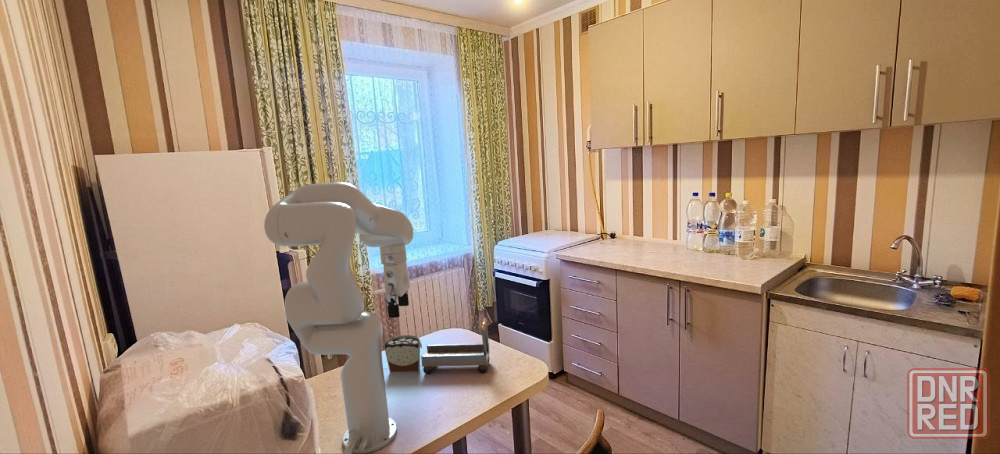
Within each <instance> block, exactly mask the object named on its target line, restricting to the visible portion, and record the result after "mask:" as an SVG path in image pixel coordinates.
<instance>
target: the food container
mask: <svg viewBox="0 0 1000 454" xmlns="http://www.w3.org/2000/svg"><path fill="white" fill-rule="evenodd" d="M421 349H423V344H422V341H421V340H420V338H419V336H417V335H412V334H403V335H397V336H393V337H390V338H389V339H386V340H385V341H384V342H383V344H382V350H384V352H385V355H386V362H387V366H388V371H389V373H390V374H392V373H393V374H394V373H395V374H400V373H401V374H405V373H406V374H407V373H411V374H413V373H415V374H416V373H420V370H421V369H420V368H421V363H420V362H421V355H420V354H421Z"/></svg>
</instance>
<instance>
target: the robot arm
mask: <svg viewBox="0 0 1000 454" xmlns="http://www.w3.org/2000/svg"><path fill="white" fill-rule="evenodd" d="M263 224H264V225H263V226H264V227H263V228H264V233H265V235H266V236H267V238H268V240H269V241H270V242H271V243H273V244H275V245H276V246H280V247H301V246H303V247H304V246H319V249H318V250H317V252H316V253H315V255H314V256H313V257H312V258H311V260H310V262H309V264H308V266H307V267H306V271H305V277H306V278H305V279H306V281H301V282H297V283H295V284H294V285H292V286H291V287H290V288H289V289H288V290H287V293H286V295H285V297H284V314H285V317H286V320H287V322H288V324H289V325H290V327H291V329H292V330H293V332H294V333H295V335H296V337H297V338H298V341H300V343H301V345H302V346H303V347H304V349H305V350H306V351H307V352H309V353H310V354H312V355H317V356H323V355H324V356H325V355H347V356H348V357H349V358H348V359H347V360H346V362H345V363H344V364H343V366H342V368H341V372H340V381H341V386H342V395H343V401H344V409H345V416H346V423H347V429H346V430H345V432H344V434H343V436H342V445H343V447H344V451H343V454H367V453H368V454H369V453H372V452H376V451H378V450H381V449H382V448H383V447H385V446H388V445H389V444H390V443H391V442H392V441H393V440H394V438H395V436H396V435H397V432H398V430H397V429H398V428H397V427H398V426H397V424H396V422H395V420H394V419H393V418H391V417H390V416H389V415H390V414H389V407H388V399H387V391H386V384H385V383H386V382H385V375H384V373H385V372H384V365H383V364H384V363H383V354H382V353H383V351H382V350H383V331H384V330H383V329H384V327H383V322H382V319H381V317H380V316H379V315H378V314H376V313H374V312H371V311H364V309H365V300H364V297H363V294H362V291H361V289H360V287H359V284H358V282H357V280H356V278H355V275H354V272H353V271H352V267H351V256H352V251H353V247H354V241H355V236H356V234H359V237H360V240H361V243H362V244H364V246H366V247H369V248H379V252H380V253H379V254H380V264H381V265H383V284H384V293H385V294H384V295H385V296H384V297H385V300H386V301H385V302H386V305H387V314H388V319H389V318H390V319H394V318H397V319H398V318H400V307H408V306H409V304H410V301H409V293H408V292H409V289H410V287H411V285H410V284H411V283H410V278H409V277H410V276H409V270H408V265H407V249H406V246H407V245H409V244H410V243H412V241H413V238H414V228H413V224H412V222H411V221H410V219H409V218H408V217H407V216H406V214H404V213H403V212H402V211H400V210H397V209H393V208H391V207H389V206H384V205H381V204H377V203H373V201H371V200H370V198H368V197H367V196H366V195H365V194H364V193H363V192H362V191H361V190H360V189H358V187H357V186H355V185H353V184H352V183H349V182H341V181H340V182H338V181H336V182H325V183H321V182H320V183H310V184H304V185H303V186H300V187H298V188H296V189H294V190H293V191H291V192H290V193H289V194H287V195H286V196H285V197H283V198H282V199H279V201H278V202H276V203H275V204H273V206H271V207H270V209H269V210H268V212H267V214H266V216H265V219H264V223H263Z"/></svg>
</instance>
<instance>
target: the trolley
mask: <svg viewBox="0 0 1000 454" xmlns="http://www.w3.org/2000/svg"><path fill="white" fill-rule="evenodd" d="M480 330H481V338H482V339H481V340H482V343H449V344H445V343H444V344H443V343H441V344H440V343H439V344H427V345H426V350H427V351H426V353H425V355H423V354H422V355H420V361H421V367H423V368H422V370H423V373H424V374H426V375H431V374H432V373H433V372H434V368H435V367H461V366H462V367H463V366H465V367H467V366H477V370H478V372H479V373H480V374H485V373H487V372H488V369H489V365H488V364H489V363H490V359H491V358H490V352H491V351H490V342H489V331H488V330H489V328H488V318H486V317H484V318H483V320H482V323H481V327H480Z"/></svg>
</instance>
